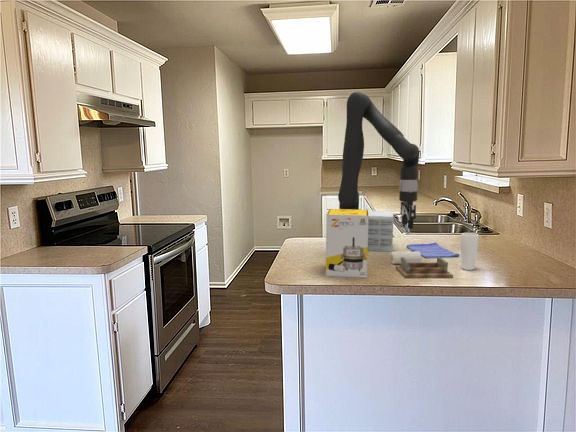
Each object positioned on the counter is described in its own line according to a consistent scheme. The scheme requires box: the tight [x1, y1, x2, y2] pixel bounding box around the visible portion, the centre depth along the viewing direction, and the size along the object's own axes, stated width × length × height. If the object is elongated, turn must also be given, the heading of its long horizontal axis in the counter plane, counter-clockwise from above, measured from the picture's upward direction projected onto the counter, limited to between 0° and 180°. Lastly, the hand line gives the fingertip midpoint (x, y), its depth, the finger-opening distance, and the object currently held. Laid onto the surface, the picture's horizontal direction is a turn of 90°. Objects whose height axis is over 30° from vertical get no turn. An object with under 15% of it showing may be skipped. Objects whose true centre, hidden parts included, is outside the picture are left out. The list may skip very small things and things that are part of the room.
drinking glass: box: [460, 232, 480, 271], centre depth 176 cm, size 7×7×15 cm
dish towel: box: [406, 242, 461, 260], centre depth 207 cm, size 17×24×3 cm
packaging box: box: [325, 208, 369, 279], centre depth 172 cm, size 16×16×25 cm
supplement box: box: [368, 210, 395, 253], centre depth 215 cm, size 17×13×18 cm
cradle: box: [395, 257, 454, 279], centre depth 171 cm, size 19×14×6 cm
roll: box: [390, 251, 422, 265], centre depth 186 cm, size 13×6×6 cm, turn 90°
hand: (407, 226), depth 184 cm, fingers open, 8 cm apart
